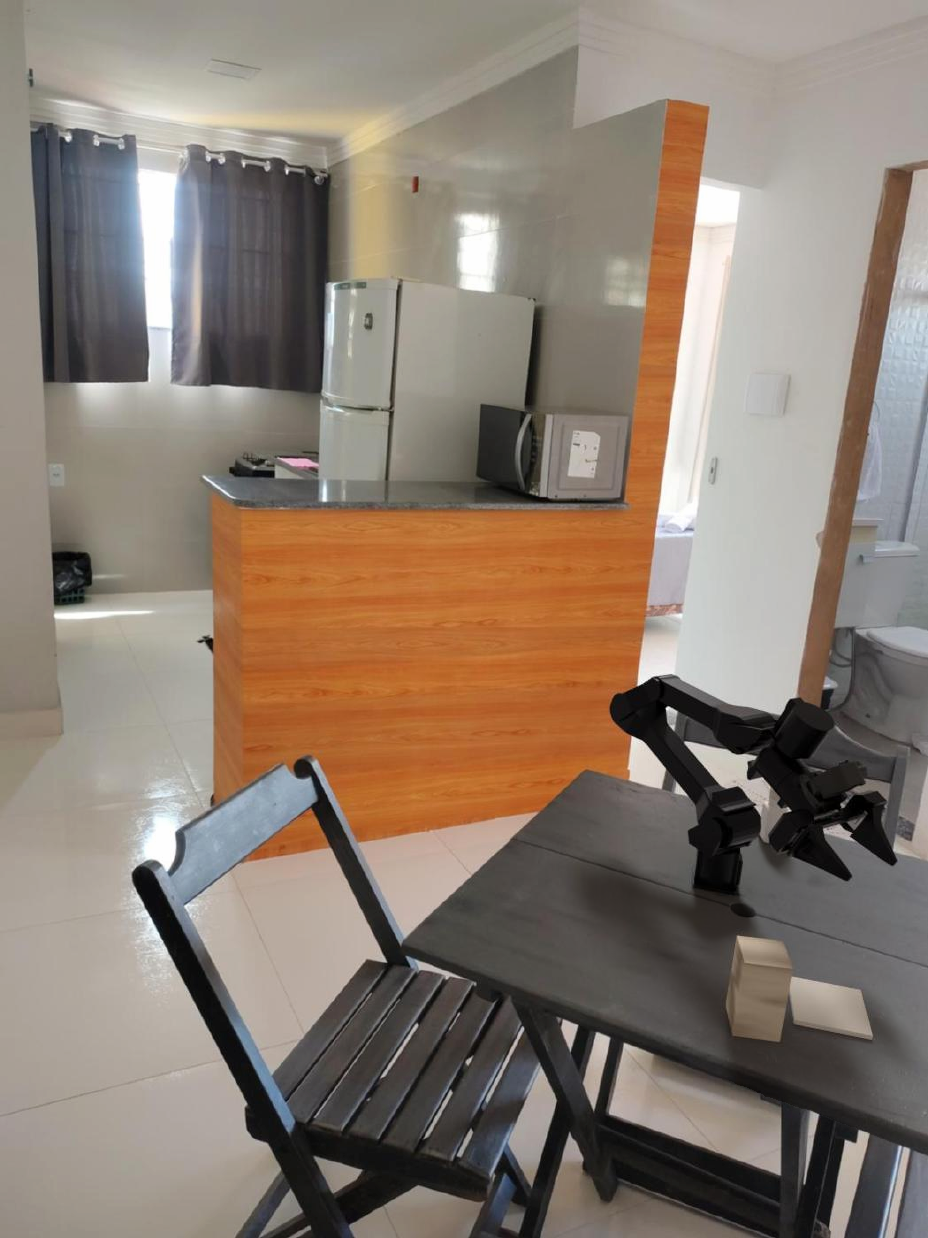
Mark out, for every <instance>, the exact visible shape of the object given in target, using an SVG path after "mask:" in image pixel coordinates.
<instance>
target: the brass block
mask: <svg viewBox="0 0 928 1238" xmlns="http://www.w3.org/2000/svg"><path fill="white" fill-rule="evenodd" d="M793 970H794V968H793V964H792V962H791V959H790V956H789V954H788V951H787V947H786V945H785V944H784V941H782V940H778V939H777V940H775V939H768V938H760V937H759V938H758V937H751V936H743V935H736V939H735V945H734V952H733V958H732V963H731V970H730V975H729V981H728V988H727V993H726V1001H725V1010H726V1014H727V1017H728V1018H727V1019H728V1022H729V1027H730V1030H731V1034H732V1036H733V1037H741V1038H747V1039H755V1040H756V1039H757V1040H763V1041H769V1042H776V1043H777V1042H779V1043H780V1042H781V1038H782V1034H783V1033H782V1032H783V1027H784V1021H785V1016H786V1011H787V1004H788V999H789V989H790V983H791V978H792V977H793V973H794V971H793Z"/></svg>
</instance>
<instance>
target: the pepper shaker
mask: <svg viewBox="0 0 928 1238" xmlns="http://www.w3.org/2000/svg"><path fill="white" fill-rule="evenodd" d="M769 787H770V786H769ZM779 799H780V797H779V796H778V795H777V794H776V792H775V791H774V790H773V789H772V788H771V787H770V789H769V794H768V800H766V801H764V802H763V803H762V808H761V811H760V812H761V813H760V816H761V832H760V834H759V836H760V838H761V839H762V842H763V843H766V844H769V838H768V834H769V833H770V831H771V830H772V828H773V827H774V826H775V824H776V823H777V821H778V820H779V819H780V817H781V816H782V815H783V813H786V812H790V811H791V810H790V809H789V808H788V807H787V808H783V809H781V808H780V807H779V806H778V805H777V802H778V801H779Z"/></svg>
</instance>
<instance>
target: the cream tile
mask: <svg viewBox="0 0 928 1238" xmlns="http://www.w3.org/2000/svg"><path fill="white" fill-rule="evenodd" d="M861 990H862V989H858V988H852V987H848V986H842V985H838V984H837V985H836V984H831V983H826V982H822V981H816V980H811V979H806V978H800V977H798V976H797V977H796V976H792V978H791V983H790V989H789V994H788V997H789V1001H790V1008H791V1009H790V1010H791V1015H792V1021H793V1025H797V1026H802V1027H805V1028H811V1029H816V1030H820V1031H821V1030H822V1031H827V1032H831V1033H836V1034H841V1035H846V1036H850V1037H856V1038H860V1039H861V1038H862V1039H866V1040H869V1041H870V1040H871V1041H872V1040H873V1037H874V1035H873V1032H872V1028H871V1024H870V1020H869V1017H868V1013H867V1009H866V1005H865V1002H864V998H863V995H862V991H861Z"/></svg>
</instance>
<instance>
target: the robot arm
mask: <svg viewBox="0 0 928 1238" xmlns="http://www.w3.org/2000/svg"><path fill="white" fill-rule="evenodd" d="M668 707H669V708H671V709H672V710H675V711H676V712H679V713H680V714H681V715H682V716H686V717H687V718H689V719H691V720H693V721H694V722H696V723H698V724H700V725H702V726H704V727H705V728H707V729H708V730H709V731H711V733H712V734H713V737H714V738H715V740H716V742H717V743H719V744H720V745H721V746H723V748H725V749H726V750H727V751H728V752H730V753H731V754H734V755H737V756H741V755H746V754H751V753H755V752H759V753H757V756H756V757H755V759H751V760H747V762H746V763H747V770H746V779H747V781H752V780H757V779H761V778H763V780H764V781H765V782H766V783H767V785H768V786H769V787H771V788H772V789H773V790H774V791H775V792H776V794H777V795H778V796H779V797H780V799H779V801H778V802H777V805H778V806H779V807H780V808H781V809H783V808H787V807H788V808H789V809H790V810H791V811H790V812H786V813H783V815H782V816H781V817H780V819H779V820H778V821H777V823H776V824H775V826H774V827H773V828H772V830H771V831H770V833H769V834H768V838H769V843H768V844H769V846H770V847H771V849H773V850H774V852H775V853H776V854H777V855H778V856H780V855H784V854H786V855H785V856H786V857H788V858H795V859H796V860H798V861H799V860H800V861H802V862H804V863H807V864H809V865H812V866H813V867H816V868H817V869H820V870H822V871H823V872H825V873H828V874H829V875H832V876H834V877H836V878H838V879H840V880H842V881H845V882H849V881H850V880H852V879H853V874H852V873H851V872H850V869H849V868H848V867H847V865H846V864H845V862H844V861H843V860H842V859H841V858H840V856H839V855H838V854H837V853H836V851H835V850H834V849H833V847H832V846H831V845H830V844H829V842H828V841H827V839H826V836H825V833H824V831H825V830H824V829H827V828H830V827H831V828H832V827H834V826H838V825H840V827H841V828H842V829H843V831H846V832H849V833H851V834H850V835H849V838H850V839H852V840H854V841H855V842H856V843H858V844H859V845H861V846H862V847H864V848H865V849H866V850H867V851H869V852H870V853H871V854H873V855H875V856H876V857H877V858H878V859H880V860H881V861H882V862H884V863H886V864H888V866H890V867H894V866H896V864H898V858H897V856H896V854H895V852H894V850H893V847H892V846H891V843H890V841H889V839H888V837H887V834H886V832H885V830H884V826H883V823H882V822H883V821H882V819H883V814H884V813H885V812H886V807H885V806H887V804H888V800H887V799H886V798H885V797H884V796H883V795H882V794H881V793H880V791H878V790H874V789H873V790H871V789H870V790H866V791H862V792H857V793H853V795H852V797H851V798H850V799H849V800H848V801H847V803H845V805H844V807H842V805H841V804H842V803H844V802H846V800H847V799H848V797H849V795H848V794H847V792H850V791H851V790H853V789H855V788H857V787H862V786H865V785H866V784H867V781H866V780H865V779H867V777H868V772H867V771H868V770H867V769H868V768H867V767H866V766H865V765H864V764H863V763H862V762H860V761H859V760H858V759H857V758H856V757H854V756H852V757H849V758H845V759H844V761H840V762H839V763H838V764H837V765H835V766H833V767H831V768H828V769H827V770H825V771H822V770H816V771H815V770H814V771H812V770H811V769H810V768H809V767H808V765H806V763H805V762H804V761H803V760H809V759H812V758H813V757H814V756H815V754H816V753H817V752H818V750H819V749H820V748H821V746H822V745H823V743H824V742H825V741H826V739H827V738H828V736H829V735H830V733H831V732H832V730H833V729H834V728H835V720H834V718H833V717H832V715H831V714H830V713H829V712H828V711H827V710H826V709H822V707H819V706H818V705H816V704H813V703H811V702H810V703H809V702H807V701H805V700H804V699H803V698H802V697H800V696H799V697H793V698H789V699H788V701H787V702H786V704H785V706H784V709H783V711H782V713H781V714H780V716H779V717H778V718H774V716H772V715H771V713H769V712H767V711H765V710H762V709H758V708H756V707H755V708H754V707H750V706H743V705H734V704H731V703H728V702H726V701H724V700H721V699H719V698H718V697H716V696H714V695H712V694H710V693H708V692H706V691H704V690H702V689H700V688H698V687H696V686H694V685H692V684H690V683H688V682H687V681H684V680H682V678H680V676H678V675H675V674H672V673H667V674H663V675H656V676H652V677H650V678H649V679H647V680H646V681H644V682H643V683H641V684H639V685H636V686H635V687H632V688H630V689H628V690H626V691H624V692H617V693H616V694H614V696H613V697H612V698H611V701H610V703H609V708H608V710H609V711H608V712H609V715H610V718H611V720H612V721H613V723H614V724H615V725H617V727H619V728H620V729H621V730H622V731H623V732H624V733H625V734H626V735H628V736H632V737H633V738H635V739H638V740H639V741H642V742H643V743H644V744H645V745H646V746H647V748H648V749H649V750H650V751H651V752H652V754H653V755H654V756H655V757H656V758H657V760H658V761H659V762H660V763H661V765H662V766H663V767H664V769H666V771H667V772H668V773H669V775H670V776H671V777H672V778H673V780H674V781H675V782H676V783H677V784H678V786H679V787H680V788H681V790H683V792H684V793H685V794H686V795H687V797H688V798H689V799H690V800H691V802H692V803H693V805H694V806H695V814H696V822H697V825H695V826H693V827H691V828H689V829H688V830H687V838H688V839H687V840H688V844H689V845H690V846H692V847H694V848H695V849H696V851H695V852H696V853H695V860H694V863H693V865H692V886H693V887H694V888H696V889H703V890H710V891H715V892H721V893H725V894H730V895H736V894H737V886H740V883H741V877H742V873H743V872H742V871H743V866H744V859H743V854H742V853H741V848H744V847H745V848H746V847H747V848H748V847H750V846H751V845H752V842H753V841H755V840H757V838H759V836H760V835H759V834H760V832H761V813H760V812H759V811H758V810H757V808H756V806H757V803H756V802H754V801H752V800H751V799H750V797H748V795H747V794H746V793H745V791H744V790H743V788H741V787H740V786H739V785H737V786H733V787H728V788H726V787H724V786H722V785H721V784H720V783H719V782H718V781H717V780H716V779H715V777H714V776H713V775H712V774H711V773H710V772H709V770H708V769H707V768H706V767H705V766H704V764H702V762H701V760H699V758H698V757H697V756H696V755H695V754H694V753H693V751H691V749H690V748H689V747H688V746H687V744H686V743H685V742H684V741H683V740H682V739H681V737H680V736H679V735H678V733H676V731H675V730H674V729H673V728H672V727H671V725H670V724H669V722H668V713H667V708H668ZM802 759H803V760H802Z"/></svg>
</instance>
